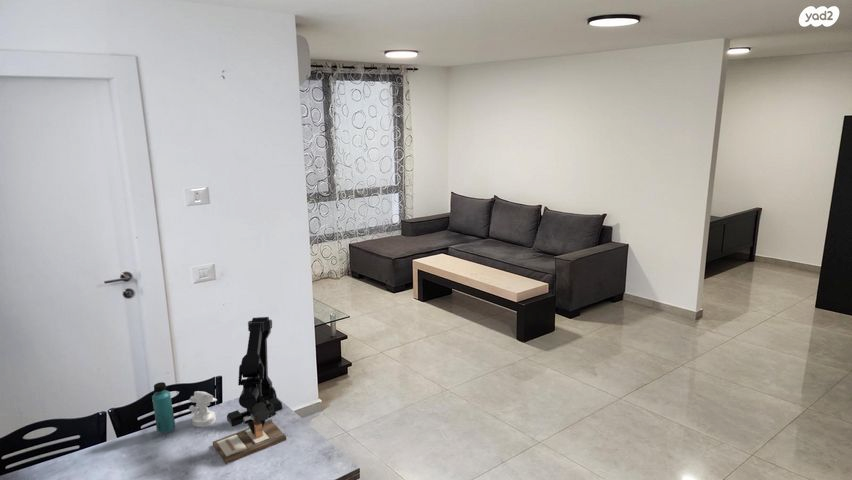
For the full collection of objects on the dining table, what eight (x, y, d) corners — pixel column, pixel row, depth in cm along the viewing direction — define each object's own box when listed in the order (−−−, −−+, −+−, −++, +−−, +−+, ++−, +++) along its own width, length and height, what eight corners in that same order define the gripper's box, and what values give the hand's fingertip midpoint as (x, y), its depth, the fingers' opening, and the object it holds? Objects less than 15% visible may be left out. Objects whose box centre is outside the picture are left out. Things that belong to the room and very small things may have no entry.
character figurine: (187, 422, 208) (184, 394, 206) (209, 411, 216) (206, 384, 213) (200, 429, 203) (197, 401, 201) (222, 418, 211) (219, 390, 208)
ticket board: (213, 445, 193) (212, 439, 193) (271, 423, 207) (270, 418, 206) (225, 464, 183) (225, 458, 182) (286, 440, 196) (285, 434, 195)
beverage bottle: (179, 427, 205) (173, 379, 200) (169, 437, 198) (162, 388, 194) (163, 426, 206) (156, 379, 201) (153, 436, 199) (146, 388, 195)
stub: (245, 432, 198) (244, 418, 197) (258, 427, 201) (257, 413, 200) (255, 444, 191) (254, 430, 189) (269, 439, 194) (268, 425, 192)
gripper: (235, 411, 180) (239, 452, 184) (287, 394, 192) (290, 432, 195) (224, 398, 189) (228, 437, 193) (274, 382, 200) (278, 419, 204)
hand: (257, 432), depth 196 cm, fingers closed on stub, 2 cm apart
